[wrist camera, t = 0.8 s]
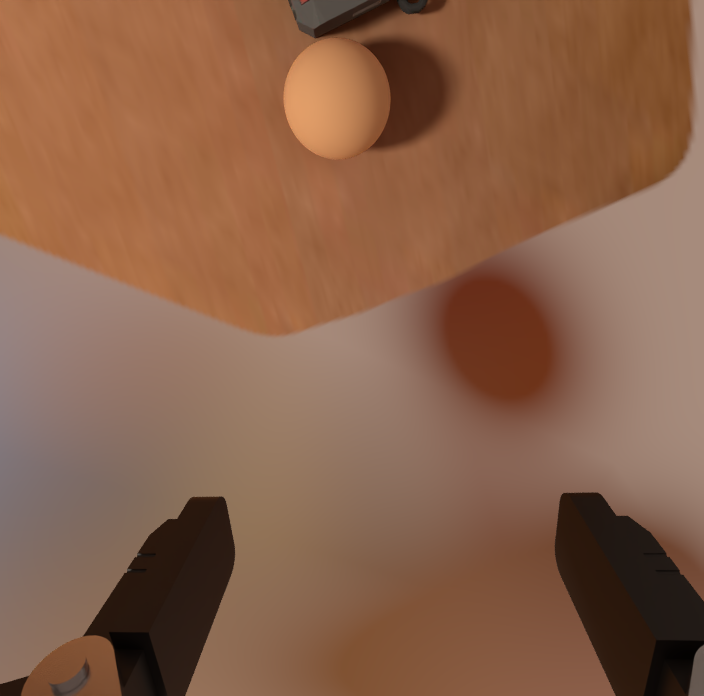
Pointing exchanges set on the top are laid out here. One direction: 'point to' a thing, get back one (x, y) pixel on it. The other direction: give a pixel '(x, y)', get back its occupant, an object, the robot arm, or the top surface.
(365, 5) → the walkie-talkie
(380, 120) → the ball
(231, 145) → the top surface
